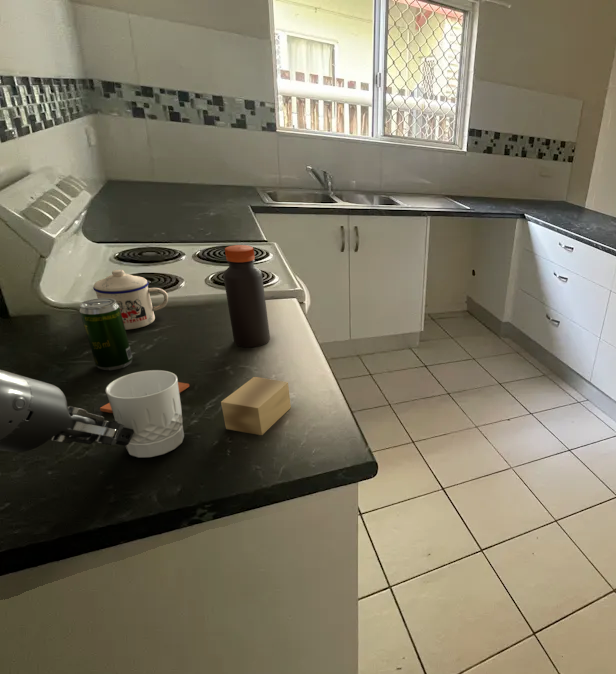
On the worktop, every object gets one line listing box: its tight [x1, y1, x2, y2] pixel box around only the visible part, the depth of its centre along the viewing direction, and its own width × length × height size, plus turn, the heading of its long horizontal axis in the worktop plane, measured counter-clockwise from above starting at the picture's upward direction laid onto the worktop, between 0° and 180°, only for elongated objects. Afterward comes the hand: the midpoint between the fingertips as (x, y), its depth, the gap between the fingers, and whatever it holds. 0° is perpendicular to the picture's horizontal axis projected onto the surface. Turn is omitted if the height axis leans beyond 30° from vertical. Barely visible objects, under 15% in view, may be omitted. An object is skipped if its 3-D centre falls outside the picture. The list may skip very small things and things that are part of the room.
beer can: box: [79, 298, 134, 371], centre depth 84 cm, size 5×5×12 cm
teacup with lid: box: [92, 269, 169, 331], centre depth 101 cm, size 12×9×12 cm
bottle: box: [222, 244, 271, 348], centre depth 96 cm, size 7×7×20 cm
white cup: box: [105, 369, 185, 458], centre depth 67 cm, size 8×8×10 cm
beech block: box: [220, 376, 292, 436], centre depth 75 cm, size 6×8×5 cm
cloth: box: [99, 381, 190, 414], centre depth 78 cm, size 7×10×1 cm
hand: (126, 437), depth 63 cm, fingers closed
